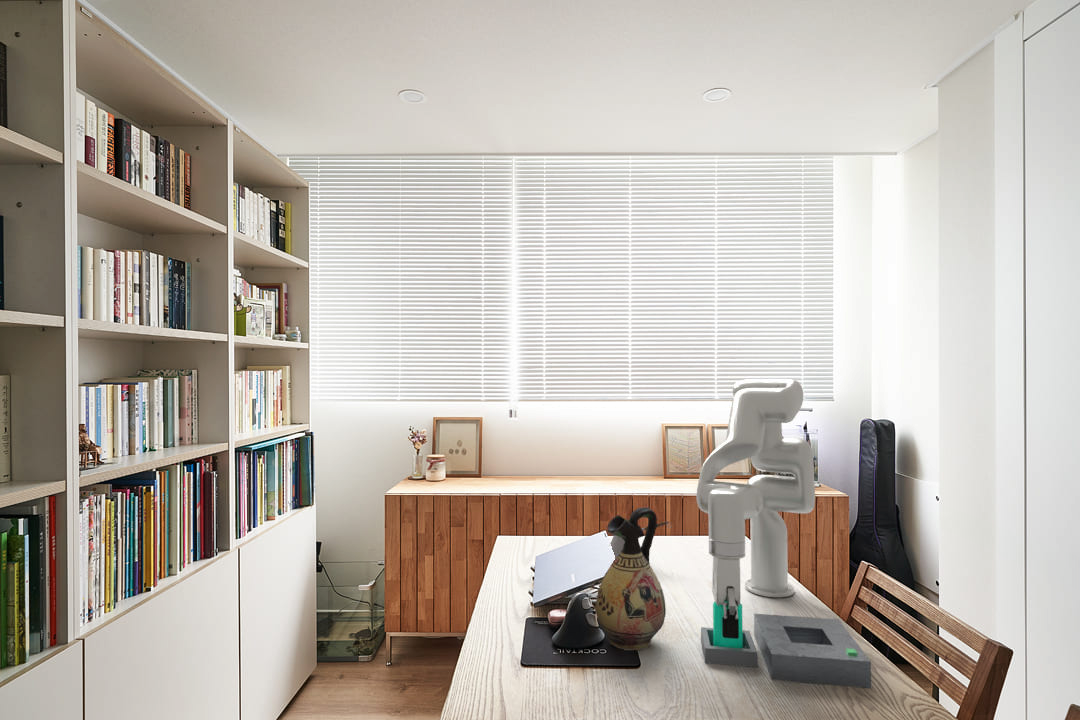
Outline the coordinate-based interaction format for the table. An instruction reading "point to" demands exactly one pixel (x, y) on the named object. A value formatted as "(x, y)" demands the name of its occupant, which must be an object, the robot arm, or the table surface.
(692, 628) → the table surface
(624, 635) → the ceramic jug
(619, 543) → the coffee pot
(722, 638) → the candle
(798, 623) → the port block
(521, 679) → the table surface
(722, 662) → the grey square tray
